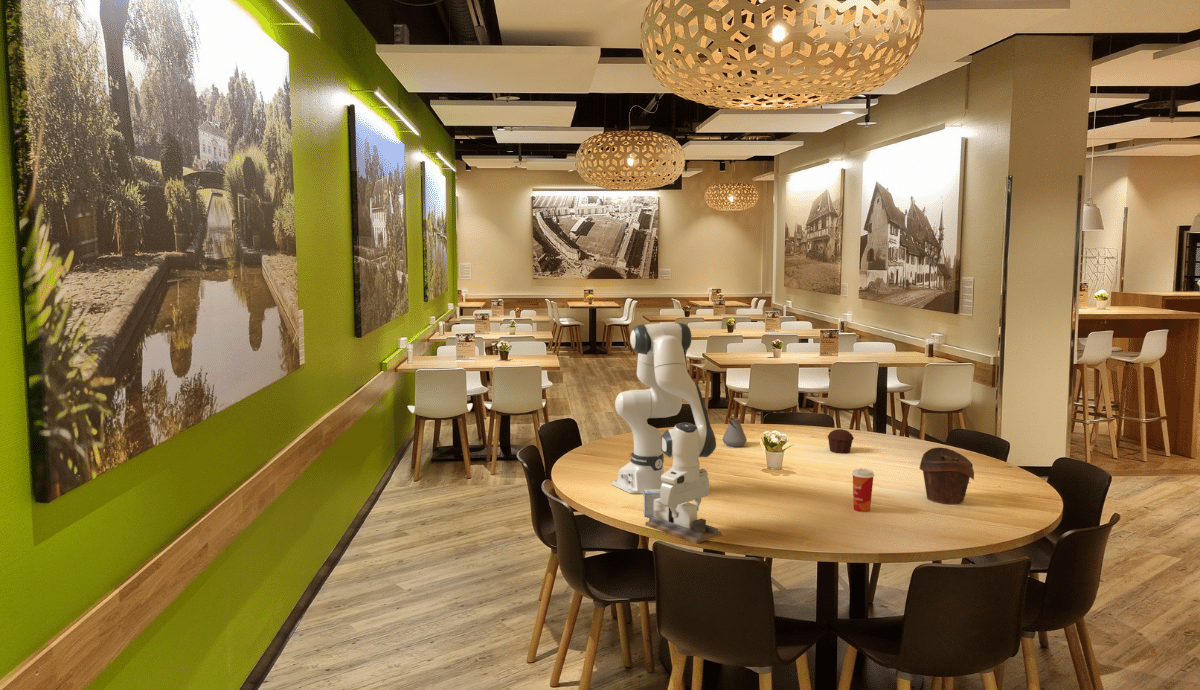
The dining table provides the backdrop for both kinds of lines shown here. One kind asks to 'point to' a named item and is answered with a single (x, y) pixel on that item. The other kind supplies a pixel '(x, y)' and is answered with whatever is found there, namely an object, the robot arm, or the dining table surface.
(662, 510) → the rail
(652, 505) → the medicine box
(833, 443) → the muffin
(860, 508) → the paper cup
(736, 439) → the coffee pot
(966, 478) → the chocolate cupcake
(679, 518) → the white box
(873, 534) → the dining table surface
